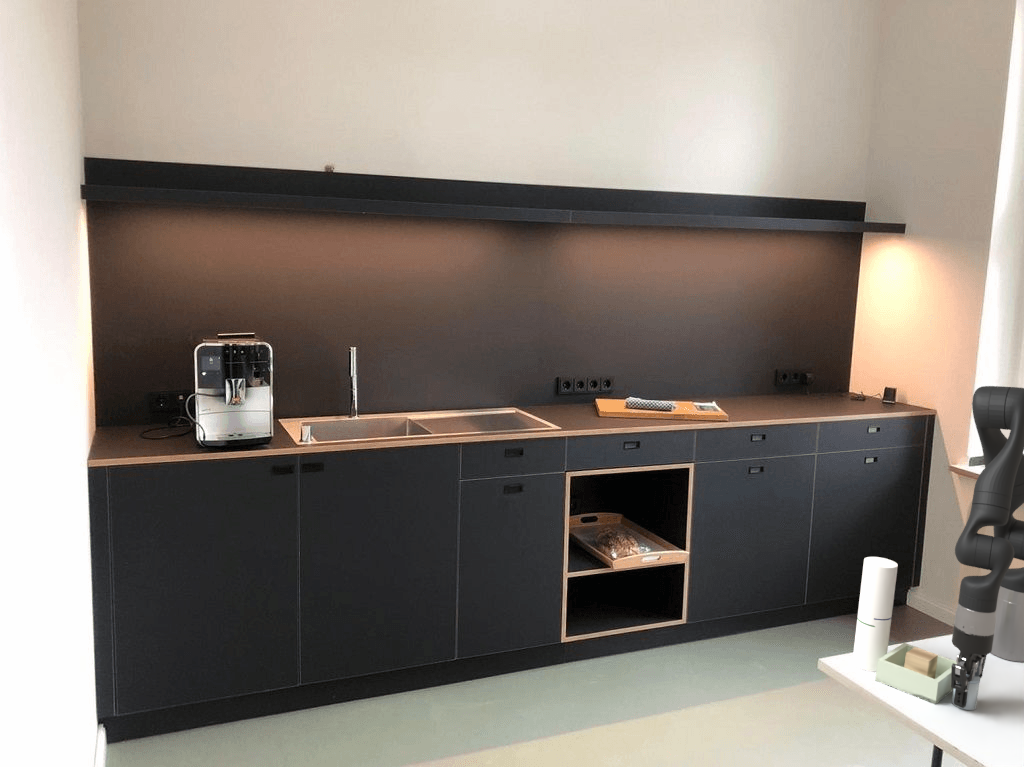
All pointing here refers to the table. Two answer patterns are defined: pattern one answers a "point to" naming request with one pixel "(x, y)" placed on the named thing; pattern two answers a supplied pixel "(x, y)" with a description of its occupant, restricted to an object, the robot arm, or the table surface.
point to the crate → (915, 675)
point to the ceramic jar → (970, 694)
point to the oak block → (921, 662)
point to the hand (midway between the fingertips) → (964, 701)
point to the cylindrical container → (874, 612)
